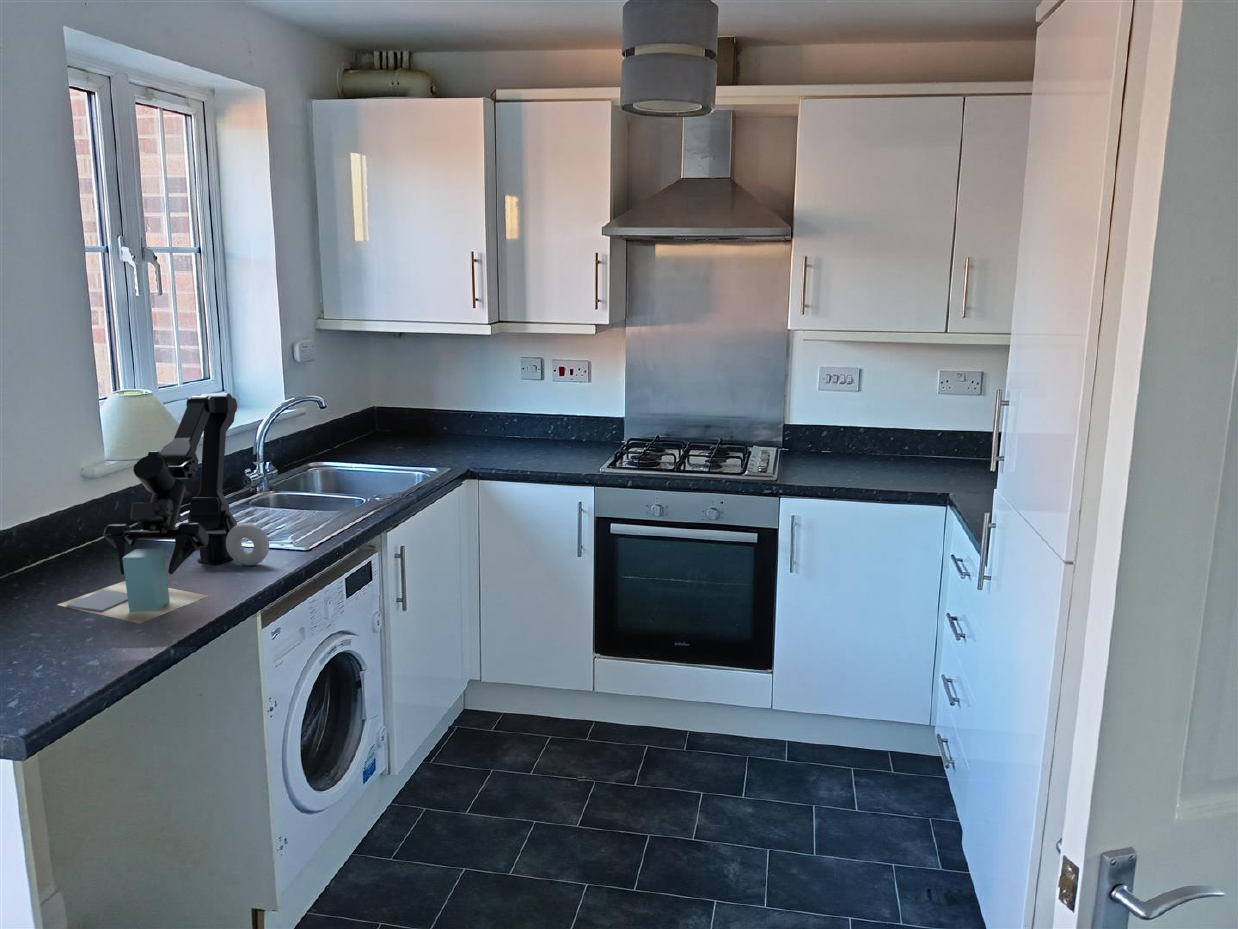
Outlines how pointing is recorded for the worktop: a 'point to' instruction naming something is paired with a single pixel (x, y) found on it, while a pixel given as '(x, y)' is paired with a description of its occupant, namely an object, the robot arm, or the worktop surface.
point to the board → (122, 611)
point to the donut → (255, 536)
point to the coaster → (100, 601)
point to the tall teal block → (146, 579)
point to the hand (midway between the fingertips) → (146, 573)
